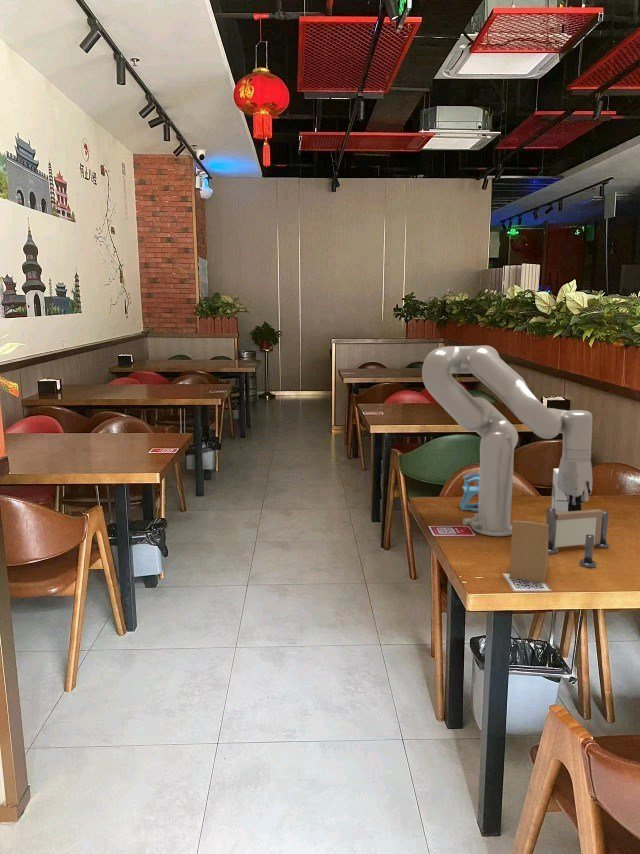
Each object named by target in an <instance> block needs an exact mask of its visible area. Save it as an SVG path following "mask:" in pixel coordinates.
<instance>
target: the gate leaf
mask: <svg viewBox="0 0 640 854" xmlns="http://www.w3.org/2000/svg"><path fill="white" fill-rule="evenodd" d="M603 511H604V510H601V509H599V508H597V509H581V511H568V512H556V513H555V526H554V540H553V546H554V547H556V548H561V547H571V546H579V545H580V546H583V545H584V546H585V541H586V535H587V534H590V535H594V545H595V544H598V543H600V539H601V527H602V517H603Z"/></svg>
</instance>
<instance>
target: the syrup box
mask: <svg viewBox="0 0 640 854" xmlns="http://www.w3.org/2000/svg"><path fill="white" fill-rule="evenodd" d="M558 472H559V467H558V468H553V473H552V490H551V507H550V508H554V509H556V512H568V502H567V497H566V495H565V494H564V493H563V492H562V491H560V490H559V489H558ZM556 512H555V513H556Z"/></svg>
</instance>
